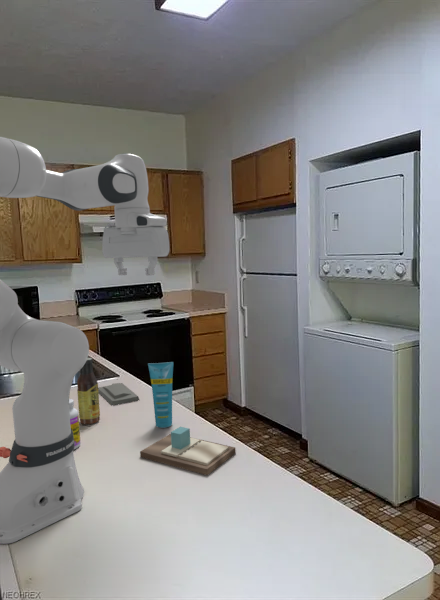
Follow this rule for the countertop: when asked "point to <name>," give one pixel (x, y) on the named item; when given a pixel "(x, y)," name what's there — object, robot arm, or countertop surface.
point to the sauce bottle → (88, 395)
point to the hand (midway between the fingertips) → (136, 275)
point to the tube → (162, 392)
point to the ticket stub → (180, 442)
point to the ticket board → (191, 455)
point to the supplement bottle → (74, 423)
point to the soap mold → (117, 394)
